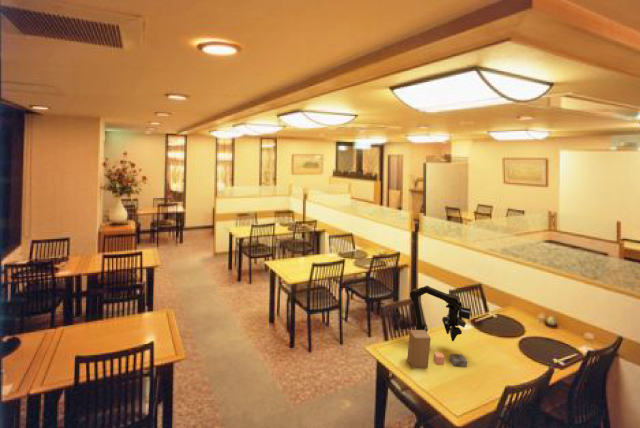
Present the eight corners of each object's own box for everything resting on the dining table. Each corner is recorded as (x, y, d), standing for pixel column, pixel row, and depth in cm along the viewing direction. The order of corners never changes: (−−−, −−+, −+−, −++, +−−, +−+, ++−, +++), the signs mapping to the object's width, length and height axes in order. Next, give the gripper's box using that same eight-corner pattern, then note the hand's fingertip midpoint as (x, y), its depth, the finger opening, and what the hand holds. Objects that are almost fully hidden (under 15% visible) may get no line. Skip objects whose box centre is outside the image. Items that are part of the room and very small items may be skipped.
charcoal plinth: (453, 366, 223) (454, 360, 223) (449, 359, 231) (449, 353, 230) (466, 367, 223) (467, 361, 222) (461, 360, 231) (462, 354, 230)
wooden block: (407, 359, 229) (409, 329, 226) (422, 358, 230) (424, 329, 227) (412, 368, 220) (414, 337, 216) (428, 368, 220) (431, 337, 217)
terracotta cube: (435, 364, 225) (436, 356, 224) (433, 359, 230) (434, 352, 229) (443, 364, 225) (444, 357, 224) (441, 360, 230) (442, 352, 229)
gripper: (471, 322, 222) (468, 345, 225) (459, 309, 241) (457, 331, 243) (453, 321, 222) (450, 344, 225) (443, 308, 240) (440, 330, 243)
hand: (450, 337), depth 234 cm, fingers open, 9 cm apart
